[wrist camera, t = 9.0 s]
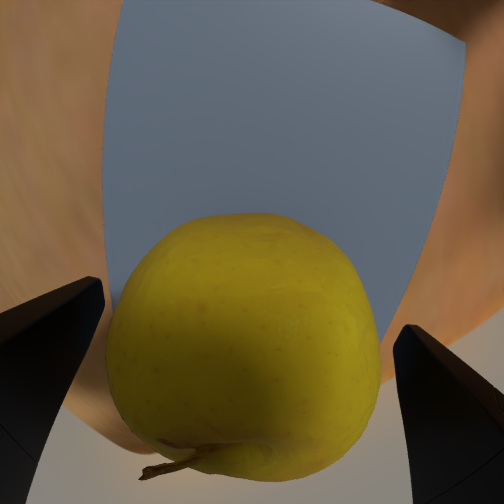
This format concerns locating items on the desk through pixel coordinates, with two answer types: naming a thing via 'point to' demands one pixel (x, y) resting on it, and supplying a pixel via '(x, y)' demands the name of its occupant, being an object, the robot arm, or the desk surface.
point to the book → (280, 127)
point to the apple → (244, 349)
